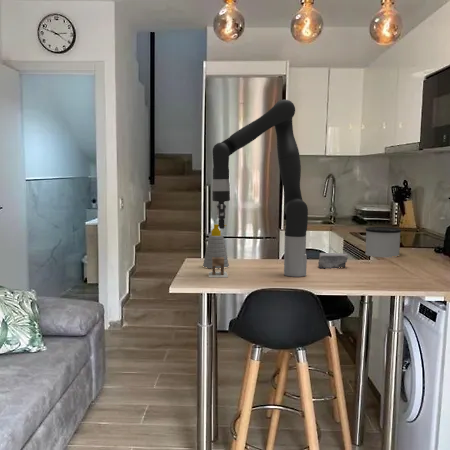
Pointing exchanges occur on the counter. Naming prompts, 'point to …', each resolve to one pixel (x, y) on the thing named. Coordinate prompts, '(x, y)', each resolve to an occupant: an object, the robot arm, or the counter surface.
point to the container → (382, 241)
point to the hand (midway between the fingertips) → (221, 227)
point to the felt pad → (218, 274)
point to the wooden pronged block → (218, 264)
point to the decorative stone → (332, 260)
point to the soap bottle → (215, 248)
